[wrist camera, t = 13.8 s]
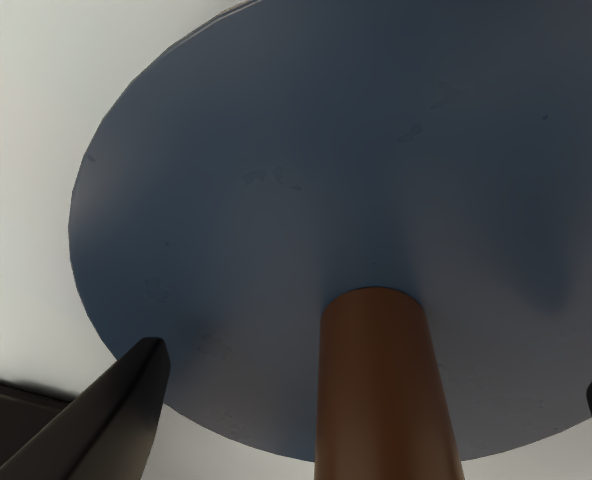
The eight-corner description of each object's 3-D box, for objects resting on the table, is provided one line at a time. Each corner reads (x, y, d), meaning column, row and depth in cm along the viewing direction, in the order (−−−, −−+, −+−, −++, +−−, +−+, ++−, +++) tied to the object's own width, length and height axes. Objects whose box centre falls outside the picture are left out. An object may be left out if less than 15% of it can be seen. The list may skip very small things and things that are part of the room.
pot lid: (456, 470, 15) (506, 691, 11) (80, 369, 13) (-48, 589, 9) (892, 148, 7) (1744, 477, 3) (121, -222, 5) (-922, -978, 1)
